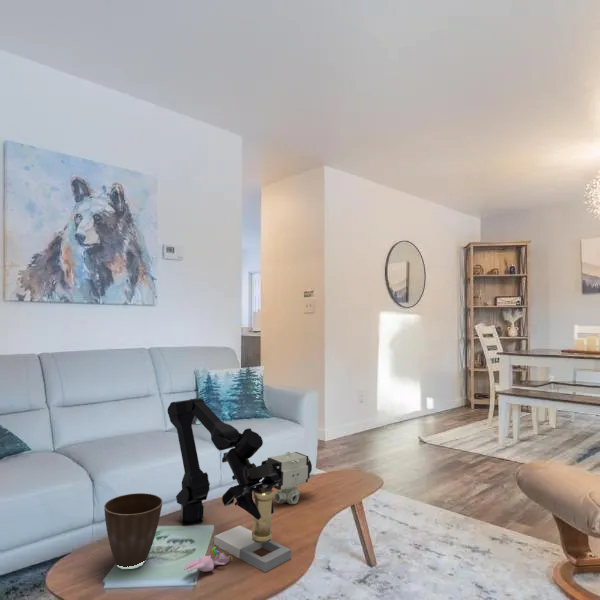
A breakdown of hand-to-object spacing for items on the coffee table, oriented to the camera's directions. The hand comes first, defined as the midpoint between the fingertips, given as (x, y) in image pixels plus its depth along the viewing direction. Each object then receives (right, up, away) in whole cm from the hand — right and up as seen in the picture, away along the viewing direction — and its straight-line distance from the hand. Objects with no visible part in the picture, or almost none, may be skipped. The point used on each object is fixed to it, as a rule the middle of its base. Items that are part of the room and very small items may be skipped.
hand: (266, 516), depth 133 cm
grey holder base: (-5, -12, +4) cm, 13 cm away
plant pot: (-36, -11, -5) cm, 38 cm away
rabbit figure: (-15, -11, -7) cm, 20 cm away
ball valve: (+5, -13, +40) cm, 43 cm away
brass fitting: (-1, -7, +1) cm, 7 cm away
